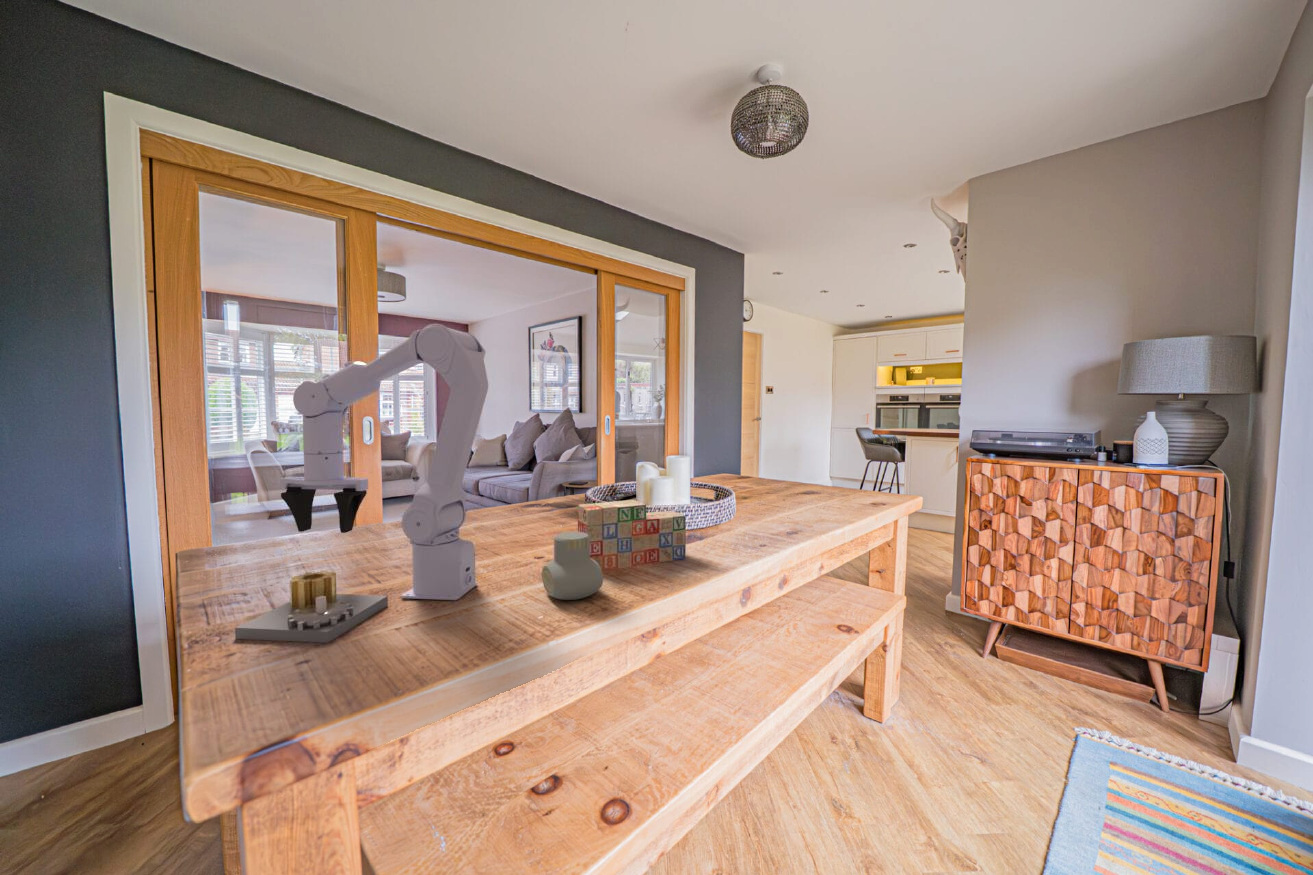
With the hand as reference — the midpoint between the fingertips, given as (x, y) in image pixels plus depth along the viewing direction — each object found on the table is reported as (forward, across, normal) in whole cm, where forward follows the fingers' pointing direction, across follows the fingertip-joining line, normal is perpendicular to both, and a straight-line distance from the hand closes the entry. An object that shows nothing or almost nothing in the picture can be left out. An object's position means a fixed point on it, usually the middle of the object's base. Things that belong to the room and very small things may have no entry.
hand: (325, 530), depth 88 cm
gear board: (+9, -10, +14) cm, 20 cm away
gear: (+8, -12, +17) cm, 23 cm away
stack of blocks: (+10, -52, -19) cm, 56 cm away
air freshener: (+10, -44, +1) cm, 45 cm away
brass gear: (+8, -7, +12) cm, 16 cm away
